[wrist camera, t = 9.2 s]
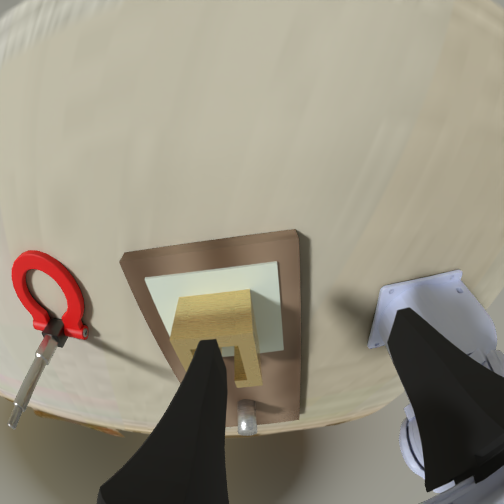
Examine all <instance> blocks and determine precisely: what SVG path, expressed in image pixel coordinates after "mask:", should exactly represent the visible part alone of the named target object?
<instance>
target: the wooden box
mask: <svg viewBox="0 0 504 504" xmlns="http://www.w3.org/2000/svg"><path fill="white" fill-rule="evenodd" d="M210 339H217V342H218V346H219V349H220V352H221V354H222V347H229V346H234V373H235V384H236V387H237V388H242V387H252V386H262V385H263V381H262V370H261V358H260V347H259V340H258V334H257V329H256V323H255V317H254V311H253V305H252V299H251V293H250V289H246V290H238V291H230V292H221V293H213V294H204V295H194V296H185V297H179V299H178V303H177V308H176V312H175V317H174V321H173V326H172V330H171V335H170V342H171V344H172V346H173V348H174V350H175V352H176V354H177V356H178V358H179V360H180V362H181V364H182V366H183V367H184V369H185V371H186V372H187V370H188V367H189V365H190V363H191V361H192V358H193V356H194V353H195V351H196V348H197V345H198V343H199V341H200V340H210Z"/></svg>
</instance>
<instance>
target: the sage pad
mask: <svg viewBox="0 0 504 504" xmlns="http://www.w3.org/2000/svg"><path fill="white" fill-rule="evenodd" d="M145 282H146V284H147V287H148V289H149V291H150V294H151V296H152V299H153V301H154V303H155V305H156V308H157V310H158V312H159V315H160V317H161V319H162V321H163V323H164V325H165V328H166V330H167V332H168V334H169V336H170V335H171V330H172V326H173V321H174V317H175V312H176V308H177V303H178V299H179V297H185V296H194V295H204V294H213V293H221V292H230V291H238V290H246V289H250V293H251V299H252V305H253V311H254V317H255V323H256V329H257V334H258V340H259V347H260V353H266V352H274V351H281V350H284V346H283V331H282V318H281V305H280V292H279V280H278V268H277V261H274V262H267V263H259V264H251V265H243V266H236V267H228V268H220V269H212V270H203V271H195V272H187V273H179V274H170V275H162V276H153V277H145ZM227 356H234V346H229V347H222V357H227Z"/></svg>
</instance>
